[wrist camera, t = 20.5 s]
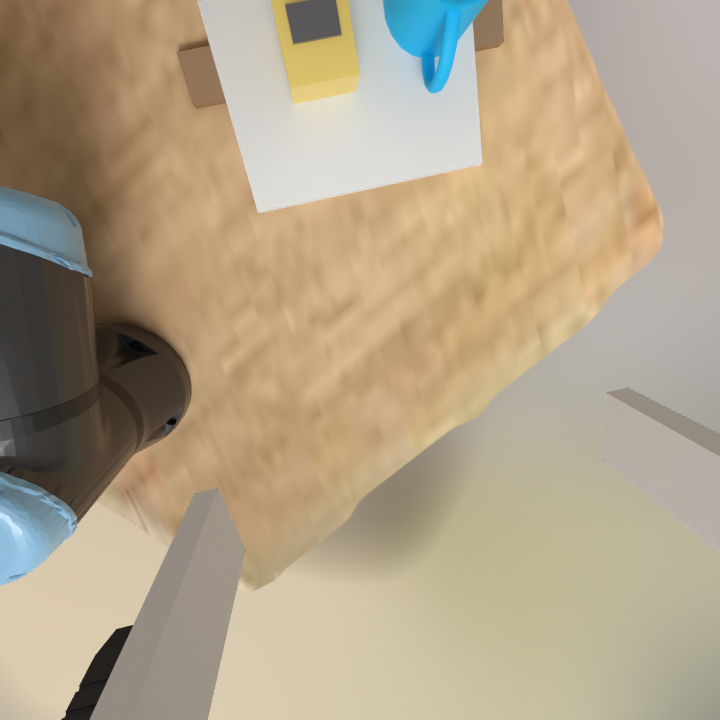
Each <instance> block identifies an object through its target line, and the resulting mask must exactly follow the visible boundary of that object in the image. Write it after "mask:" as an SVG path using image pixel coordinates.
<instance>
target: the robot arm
mask: <svg viewBox="0 0 720 720" xmlns="http://www.w3.org/2000/svg"><path fill="white" fill-rule="evenodd" d="M90 277H93V273H92V271H91V269H90V268H88V264H87V258H86V252H85V246H84V240H83V234H82V228H81V226H80V224H79V222H78V220H77V219H76V217H75V216H74V215H73V214H72V213H71V212H70V211H69V210H68V209H66V208H65V207H64V206H62V205H61V204H59V203H57V202H55V201H52V200H50V199H47V198H43V197H40V196H37V195H33V194H30V193H27V192H23V191H19V190H16V189H12V188H8V187H4V186H0V585H4V584H7V583H9V582H12V581H14V580H17V579H19V578H21V577H23V576H25V575H26V574H27V573H29V572H31V571H33V570H34V569H35V568H37V567H38V566H40V565H41V564H42V563H43V562H44V561H45V560H46V559H47V558H48V557H49V556H50V555H51V553H53V552H54V550H56V548H57V547H58V546H59V545H60V544H61V543H62V542H63V541H64V540H66V539H67V538H69V537H70V536H71V535H72V534H73V532H74V531H75V529H76V528H77V526H76V525H77V524H78V523H79V521H80V520H81V519H82V518H83V517H84V515H85V514H86V513H87V512H88V510H89V509H90V508H91V507H92V505H93V504H94V503H95V502H96V500H97V499H98V498H99V497H100V496H101V494H102V493H103V492H104V491H105V489H106V488H107V487H108V486H109V484H110V483H111V482H112V481H113V479H114V478H115V477H116V476H117V475H118V473H119V472H120V471H121V470H122V468H123V467H124V466H125V465H126V463H127V462H128V461H129V460H130V458H131V457H132V456H133V455H134V454H136V453H138V452H139V451H141V450H143V449H145V448H147V447H149V446H151V445H153V444H155V443H157V442H159V441H160V440H162V439H163V438H165V437H166V436H167V435H168V434H170V433H171V432H172V431H173V430H174V429H175V428H176V426H177V425H178V424H179V422H180V421H181V419H182V418H183V417H184V415H185V413H186V412H187V409H188V407H189V404H190V400H191V383H190V378H189V375H188V372H187V370H186V368H185V366H184V364H183V362H182V361H181V359H180V358H179V356H178V355H177V354H176V353H175V352H174V350H173V349H172V348H171V347H170V346H168V345H167V344H166V343H165V342H164V341H162V340H161V339H159V338H158V337H156V336H155V335H153V334H151V333H149V332H147V331H145V330H142V329H139V328H137V327H133V326H129V325H124V324H116V323H105V324H97V325H95V322H94V313H93V303H92V293H91V283H90ZM603 435H604V436H603V451H602V460H603V461H604V462H606V463H607V464H608V465H610V466H611V467H612V468H613V469H614V470H616V471H617V472H618V473H620V474H621V475H622V476H623V477H625V478H626V479H627V480H628V481H629V482H631V483H632V484H633V485H634V486H636V487H637V488H638V489H639V490H641V491H642V492H643V493H644V494H646V495H647V496H648V497H649V498H651V499H652V500H653V501H654V502H656V503H657V504H658V505H659V506H661V507H662V508H663V509H664V510H666V511H667V512H668V513H669V514H671V515H672V516H673V517H675V518H676V519H677V520H678V521H679V522H681V523H682V524H683V525H684V526H686V527H687V528H688V529H690V530H691V531H692V532H693V533H695V534H696V535H697V536H698V537H699V538H701V539H702V540H703V541H704V542H706V543H707V544H708V545H709V546H711V547H712V548H713V549H714V550H716V551H717V552H718V553H719V554H720V434H719V433H717V432H715V431H713V430H711V429H709V428H707V427H705V426H703V425H701V424H699V423H697V422H695V421H693V420H691V419H689V418H687V417H685V416H683V415H681V414H679V413H677V412H675V411H673V410H671V409H669V408H667V407H665V406H663V405H661V404H659V403H657V402H655V401H653V400H651V399H649V398H647V397H645V396H643V395H641V394H639V393H637V392H635V391H633V390H631V389H629V388H624V389H620V390H616V391H611V392H607V393H606V401H605V418H604V434H603ZM245 550H246V549H245V547H244V545H243V543H242V540H241V538H240V536H239V534H238V531H237V529H236V527H235V525H234V522H233V520H232V518H231V516H230V513H229V511H228V509H227V507H226V505H225V502H224V500H223V498H222V496H221V493H220V491H219V489H218V488H216V489H212V490H208V491H204V492H200V493H196V494H194V496H193V498H192V500H191V502H190V505H189V507H188V509H187V511H186V513H185V515H184V517H183V520H182V522H181V524H180V526H179V528H178V530H177V533H176V535H175V537H174V539H173V541H172V543H171V545H170V548H169V550H168V552H167V554H166V556H165V558H164V560H163V563H162V565H161V567H160V569H159V571H158V574H157V576H156V578H155V580H154V582H153V584H152V586H151V589H150V591H149V593H148V595H147V597H146V599H145V602H144V604H143V606H142V608H141V610H140V612H139V614H138V617H137V619H136V621H135V623H134V625H131V626H127V627H123V628H119V629H116V630H115V632H114V633H113V634H112V635H111V636H110V638H109V639H108V640H107V642H106V643H105V644H104V645H103V647H102V648H101V649H100V650H99V652H98V653H97V654H96V655H95V657H94V659H93V661H92V662H91V664H90V666H89V668H88V670H87V672H86V674H85V676H84V678H83V680H82V682H81V683H80V685H79V687H80V688H79V691H78V692H76V693H75V695H74V697H73V699H72V701H71V703H70V704H69V706H68V708H67V710H66V716H65V718H62V720H208V716H209V711H210V707H211V702H212V698H213V693H214V689H215V684H216V680H217V675H218V671H219V666H220V662H221V657H222V653H223V648H224V644H225V639H226V635H227V630H228V626H229V621H230V617H231V612H232V608H233V604H234V599H235V595H236V590H237V586H238V581H239V577H240V572H241V568H242V563H243V559H244V554H245Z"/></svg>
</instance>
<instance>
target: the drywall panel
mask: <svg viewBox="0 0 720 720" xmlns="http://www.w3.org/2000/svg"><path fill="white" fill-rule="evenodd" d="M197 3H198V6H199V10H200V13H201V17H202V20H203V24H204V27H205V31H206V34H207V38H208V41H209V44H210V46H205V47H200V48H195V49H190V50H185V51H180V52H177V55H178V58H179V61H180V64H181V67H182V71H183V74H184V77H185V80H186V83H187V86H188V90H189V93H190V96H191V99H192V102H193V105H194V106H195V107H196V108H202V107H207V106H212V105H217V104H222V103H227V107H228V110H229V114H230V117H231V121H232V124H233V128H234V131H235V135H236V138H237V142H238V145H239V149H240V152H241V156H242V159H243V163H244V166H245V169H246V173H247V176H248V180H249V183H250V187H251V190H252V194H253V197H254V201H255V204H256V208H257V211H258V213H263V212H268V211H273V210H277V209H282V208H286V207H291V206H296V205H300V204H305V203H309V202H314V201H319V200H323V199H328V198H332V197H337V196H342V195H346V194H351V193H355V192H360V191H365V190H369V189H374V188H378V187H383V186H387V185H392V184H397V183H401V182H406V181H410V180H415V179H420V178H424V177H429V176H433V175H438V174H443V173H447V172H452V171H456V170H461V169H466V168H470V167H475V166H479V165H481V164H482V151H481V136H480V122H479V107H478V92H477V77H476V62H475V51H480V50H485V49H490V48H495V47H499V46H500V45H501V44H502V43H503V42H504V37H503V14H502V0H488V1H487V3H486V4H485V5H484V7H483V8H482V9H481V11H480V12H479V14H478V15H477V16H476V18H475V19H474V20H473V22H472V23H471V24H470V26H469V27H468V28H467V30H466V31H465V32H464V34H463V35H462V36H461V38H460V39H459V40H458V41H457V48H456V52H455V57H454V61H453V66H452V69H451V72H450V75H449V78H448V81H447V82H446V84H445V86H444V88H443V89H442V90H441V91H439V92H437V93H434V94H433V93H430V92H429V91H428V90H427V89H426V87H425V85H424V80H423V74H422V58H420V57H415V56H412V55H411V54H409V53H408V52H406V51H405V50H403V49H402V48H401V47H400V46H399V45H398V43H397V42H396V41H395V39H394V38H393V37H392V36H391V33H390V31H389V28H388V25H387V23H386V20H385V14H384V6H383V0H348V3H349V10H350V16H351V22H352V28H353V34H354V40H355V47H356V53H357V59H358V65H359V71H360V76H359V80H358V84H357V87H356V91H355V92H352V93H347V94H342V95H337V96H332V97H327V98H322V99H317V100H312V101H307V102H302V103H297V104H293V100H292V96H291V91H290V87H289V82H288V78H287V74H286V69H285V65H284V60H283V56H282V51H281V47H280V42H279V38H278V33H277V29H276V25H275V20H274V15H273V10H272V4H271V0H199V1H197ZM438 61H439V57H435V72H436V69H437V65H438Z"/></svg>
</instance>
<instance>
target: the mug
mask: <svg viewBox="0 0 720 720" xmlns="http://www.w3.org/2000/svg"><path fill="white" fill-rule="evenodd" d="M487 1H488V0H383V6H384V14H385V20H386V23H387V25H388V28H389V31H390V33H391V36H392V37H393V38H394V39H395V41H396V42H397V43H398V45H399V46H400V47H401V48H402V49H403V50H405V51H406V52H408V53H409V54H411V55H412V56H415V57H420V58H422V74H423V80H424V85H425V87H426V89H427V90H428V91H429V92H430V93H433V94H434V93H437V92H439V91H441V90H442V89H443V88H444V86H445V84H446V82H447V81H448V78H449V75H450V72H451V69H452V66H453V61H454V57H455V52H456V48H457V41H458V40H459V39H460V38H461V36H462V35H463V34H464V32H465V31H466V30H467V28H468V27H469V26H470V24H471V23H472V22H473V20H474V19H475V18H476V16H477V15H478V14H479V12H480V11H481V9H482V8H483V7H484V5H485V4H486V3H487ZM435 57H439V61H438V65H437V69H436V72H435Z"/></svg>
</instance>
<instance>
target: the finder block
mask: <svg viewBox="0 0 720 720" xmlns="http://www.w3.org/2000/svg"><path fill="white" fill-rule="evenodd" d="M271 4H272V10H273V15H274V20H275V25H276V29H277V33H278V38H279V42H280V47H281V51H282V56H283V60H284V65H285V69H286V74H287V78H288V82H289V87H290V91H291V96H292V100H293V104H297V103H302V102H307V101H312V100H317V99H322V98H327V97H332V96H337V95H342V94H347V93H352V92H355V91H356V87H357V84H358V80H359V76H360V71H359V65H358V59H357V53H356V47H355V40H354V34H353V28H352V22H351V16H350V10H349V3H348V0H271Z"/></svg>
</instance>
